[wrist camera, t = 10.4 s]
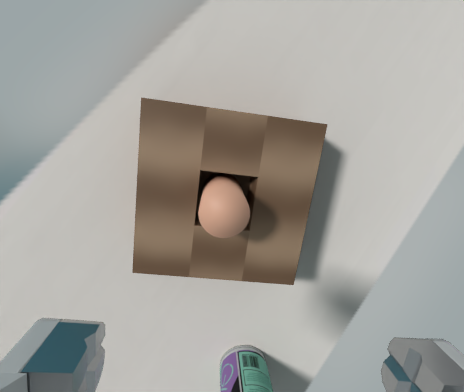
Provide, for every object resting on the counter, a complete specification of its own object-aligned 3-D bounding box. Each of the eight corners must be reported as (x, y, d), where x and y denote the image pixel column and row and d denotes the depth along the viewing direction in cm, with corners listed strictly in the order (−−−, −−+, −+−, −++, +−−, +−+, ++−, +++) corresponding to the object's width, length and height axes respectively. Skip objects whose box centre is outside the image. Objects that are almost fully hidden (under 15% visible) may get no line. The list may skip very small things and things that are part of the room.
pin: (236, 212, 26) (244, 241, 19) (200, 206, 25) (194, 233, 19) (244, 176, 25) (254, 193, 18) (206, 169, 25) (203, 184, 18)
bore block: (279, 258, 29) (293, 284, 24) (146, 246, 28) (132, 272, 23) (305, 124, 26) (327, 124, 21) (154, 102, 24) (141, 97, 20)
